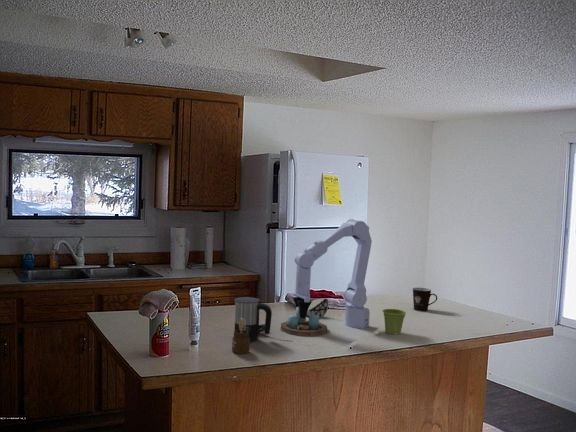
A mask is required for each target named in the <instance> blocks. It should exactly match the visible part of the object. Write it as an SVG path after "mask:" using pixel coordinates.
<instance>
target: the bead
mask: <svg viewBox="0 0 576 432" xmlns="http://www.w3.org/2000/svg"><path fill="white" fill-rule="evenodd" d="M287 321H288V323H287V327H289V328H291V329H296V330H297V328H298V316H296V314H295V315H294V314H293V315H292V314H291V315H290V314H289V315H287Z"/></svg>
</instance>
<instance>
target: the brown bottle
mask: <svg viewBox="0 0 576 432" xmlns="http://www.w3.org/2000/svg"><path fill="white" fill-rule="evenodd" d="M240 321H241V325H240ZM242 321H243V323H242ZM244 321H246V320H244V319H241V320H240V319H239V329H240V328H241V329H240V330H235V331H234V330H233V336H232V343H231V350H232V351H231V352H232V353H234V354H238V355H243V354H248V353H249V352H250V343H251V342H250V339H249V332H248V331H247V330H245V329H244V330H242V328H244V327H246V326H244Z"/></svg>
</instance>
